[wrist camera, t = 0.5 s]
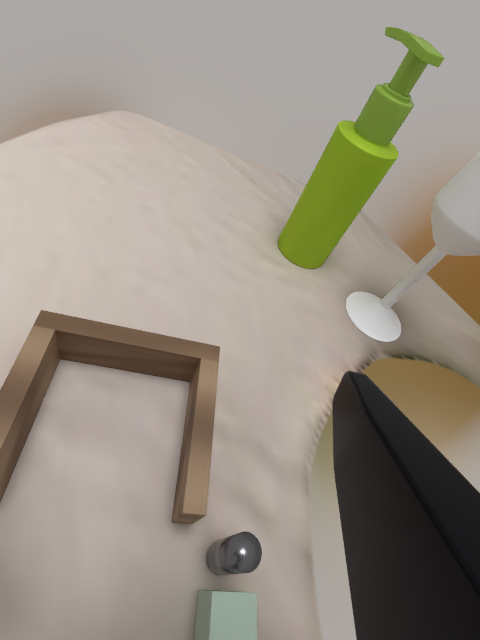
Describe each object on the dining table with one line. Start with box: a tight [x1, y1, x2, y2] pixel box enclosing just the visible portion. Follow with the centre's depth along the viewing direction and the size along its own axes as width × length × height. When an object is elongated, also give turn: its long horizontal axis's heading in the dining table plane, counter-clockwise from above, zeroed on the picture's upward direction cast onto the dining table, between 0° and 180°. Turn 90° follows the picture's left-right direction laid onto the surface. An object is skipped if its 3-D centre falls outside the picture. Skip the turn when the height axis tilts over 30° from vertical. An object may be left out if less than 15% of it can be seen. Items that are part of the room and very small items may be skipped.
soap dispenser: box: [278, 27, 444, 269], centre depth 32 cm, size 6×7×20 cm
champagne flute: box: [346, 152, 480, 342], centre depth 27 cm, size 7×7×24 cm
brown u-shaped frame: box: [0, 310, 220, 524], centre depth 19 cm, size 12×13×4 cm
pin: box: [206, 532, 262, 575], centre depth 18 cm, size 2×2×4 cm
